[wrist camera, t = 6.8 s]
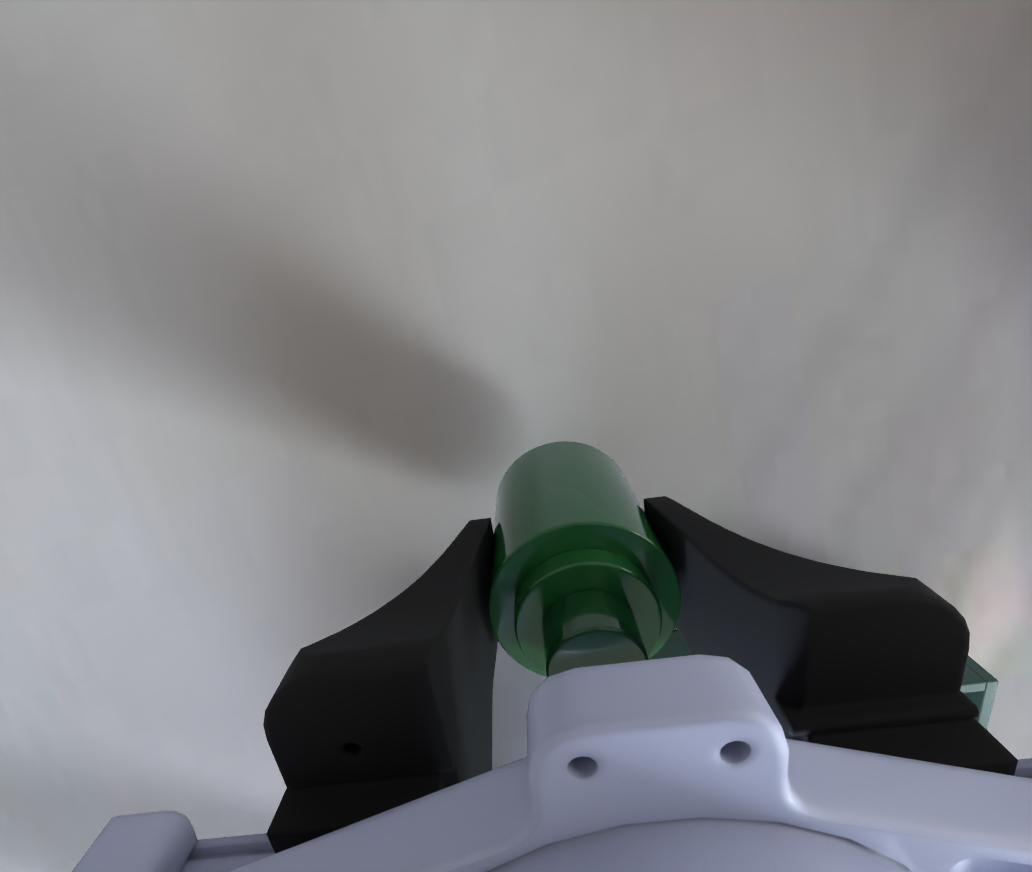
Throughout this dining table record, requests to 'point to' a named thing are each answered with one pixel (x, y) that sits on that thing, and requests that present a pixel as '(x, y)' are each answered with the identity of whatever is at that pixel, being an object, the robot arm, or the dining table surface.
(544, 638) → the bottle
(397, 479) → the dining table surface
